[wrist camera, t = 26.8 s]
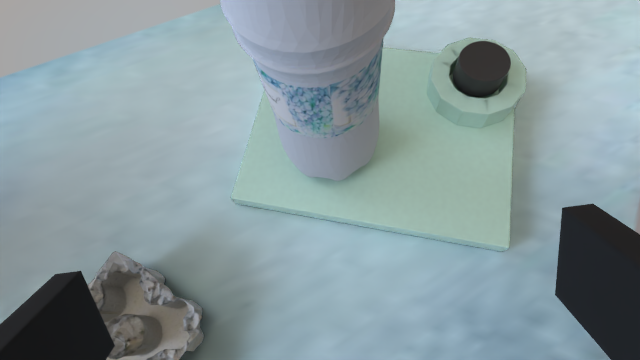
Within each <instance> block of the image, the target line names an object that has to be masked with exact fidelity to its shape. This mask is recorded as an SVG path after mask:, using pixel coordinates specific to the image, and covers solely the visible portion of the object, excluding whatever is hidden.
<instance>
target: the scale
mask: <svg viewBox="0 0 640 360" xmlns="http://www.w3.org/2000/svg"><path fill="white" fill-rule="evenodd" d="M477 41H489V42H493V43H496V44H498V45H500V46H501V47H503V48H504V49H505V50H506V51H507V53H508V54H509V56H510V60H511V67H510V69H509V71H508V73H507V75H506V77H505V79H504V80H503V82H502V84H501V86H500V87H499V89H498V90H497V91H496V92H494V93H493V94H491V95H488V96H484V97H474V96H470V95H467V94H465V93H463V92H462V91H460V90H459V89H458V88H457V86H456V85H455V83H454V80H453V71H454V69H455V66H456V63H457V60H458V57H459V55H460V52H461V51H462V49H463V48H464V47H466V46H467V45H469V44H470V43H473V42H477ZM525 90H526V68H525V67H524V65H523V64H522V62H521V61H520V59H519V58H518V56H517V55H516V53H515V52H514V51H513V50H511V49H509V48H507V47H505V46H503V45H502V44H500V43H498V42H496V41H494V40H488V39H478V38H467V39H464V40H460V41H457V42H454V43H451V44H448V45H447V46H446V47H445V48H444V49H443V50H442V51H441V52H440V53H431V52H422V51H412V50H402V49H393V48H383V49H382V61H381V73H380V86H379V96H378V102H379V135H378V140H377V144H376V147H375V151H374V153H373V156H372V158H371V159H370V161H369V162H368V163H367V164H366V165H365V166H362V167H360V168H359V169H357V170H356V171H354V172H353V173H352V174H350V175H349V176H348V177H347V178H346V179H344V180H340V181H334V180H332V179H328V178H320V177H312V178H311V177H308V176H306V175H305V174H303V173H302V172H301V171H300V170H299V169H298V168H297V167H296V166H295V165H294V163H293V162H292V161H291V160H290V159H289V157H288V155H287V154H286V152H285V150H284V148H283V145H282V142H281V140H280V137H279V133H278V129H277V124H276V120H275V116H274V112H273V110H272V108H271V105H270V103H269V100H268V97H267V95H266V92H265V90H264V92H263V96H262V99H261V102H260V105H259V109H258V112H257V115H256V118H255V121H254V125H253V128H252V131H251V134H250V137H249V141H248V144H247V147H246V150H245V154H244V157H243V160H242V163H241V166H240V170H239V173H238V176H237V179H236V183H235V186H234V189H233V192H232V195H231V199H232V200H233V201H234V202H235V203H236V204H241V205H246V206H252V207H258V208H263V209H269V210H274V211H280V212H285V213H291V214H296V215H302V216H307V217H313V218H318V219H324V220H330V221H335V222H341V223H346V224H352V225H357V226H363V227H368V228H374V229H379V230H385V231H391V232H396V233H402V234H407V235H413V236H418V237H424V238H429V239H435V240H440V241H446V242H451V243H457V244H463V245H468V246H474V247H479V248H485V249H490V250H496V251H501V252H503V251H505V250H506V249H508V248H509V247H510V221H511V194H512V168H513V141H514V114H515V106H516V104H517V103H518V101H519V100H520V98H521V97H522V95H523V94H524V93H525Z"/></svg>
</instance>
